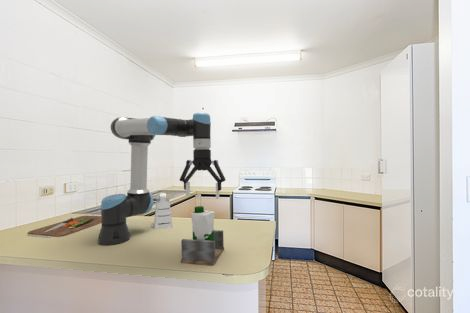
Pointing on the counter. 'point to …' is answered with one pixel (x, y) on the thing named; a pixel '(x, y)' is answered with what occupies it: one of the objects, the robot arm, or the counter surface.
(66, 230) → the chopping board
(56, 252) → the counter surface
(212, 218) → the soya milk
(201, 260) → the carton caddy
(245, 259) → the counter surface
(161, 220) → the grater
